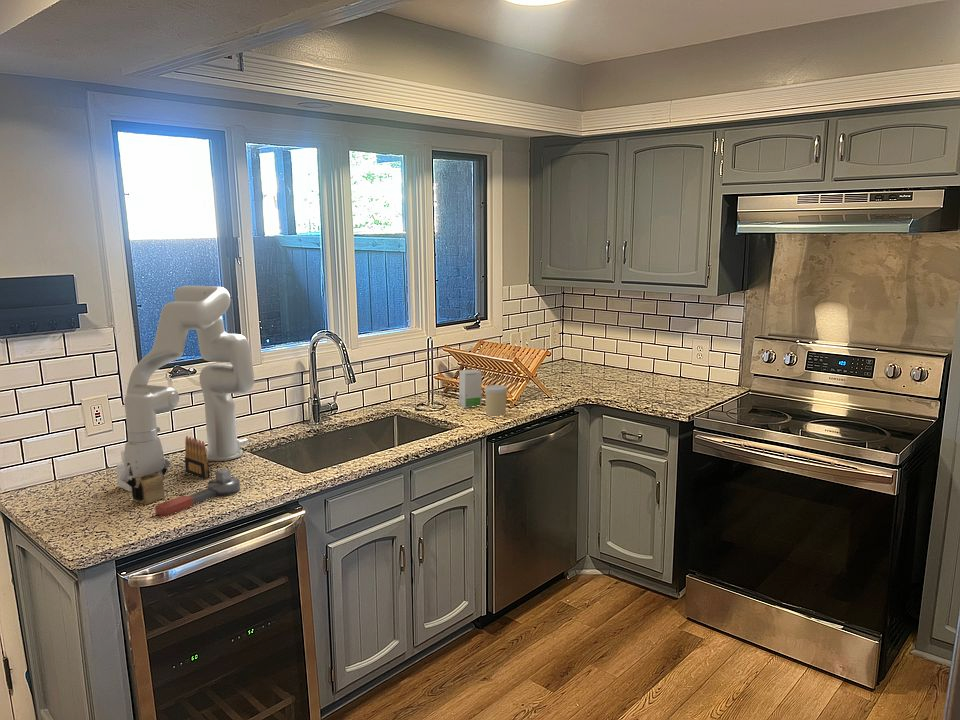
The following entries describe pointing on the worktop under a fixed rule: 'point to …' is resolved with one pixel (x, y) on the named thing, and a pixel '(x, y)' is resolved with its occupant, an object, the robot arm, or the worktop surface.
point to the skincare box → (470, 388)
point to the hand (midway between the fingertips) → (148, 495)
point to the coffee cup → (495, 399)
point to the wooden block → (151, 488)
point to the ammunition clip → (196, 458)
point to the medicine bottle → (120, 471)
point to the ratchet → (202, 493)
